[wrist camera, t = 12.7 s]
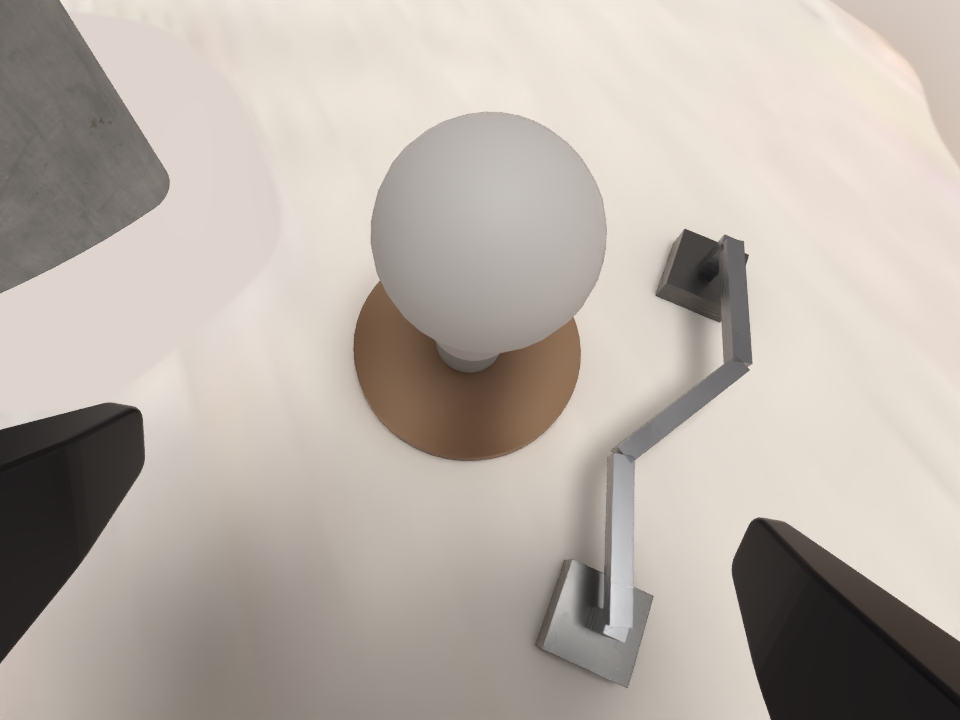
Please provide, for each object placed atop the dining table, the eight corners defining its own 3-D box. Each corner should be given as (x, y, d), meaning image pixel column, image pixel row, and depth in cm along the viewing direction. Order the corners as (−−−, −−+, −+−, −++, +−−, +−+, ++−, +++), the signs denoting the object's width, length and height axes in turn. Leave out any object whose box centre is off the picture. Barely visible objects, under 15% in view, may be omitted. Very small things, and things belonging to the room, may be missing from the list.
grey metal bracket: (625, 686, 20) (665, 707, 16) (526, 640, 20) (547, 653, 16) (741, 271, 26) (786, 228, 23) (666, 240, 26) (701, 193, 23)
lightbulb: (574, 357, 23) (698, 177, 13) (461, 458, 21) (498, 344, 11) (471, 255, 24) (507, 15, 14) (356, 342, 22) (298, 139, 12)
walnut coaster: (375, 482, 21) (373, 479, 20) (340, 272, 24) (338, 262, 23) (602, 435, 23) (609, 430, 22) (543, 242, 26) (547, 231, 25)
